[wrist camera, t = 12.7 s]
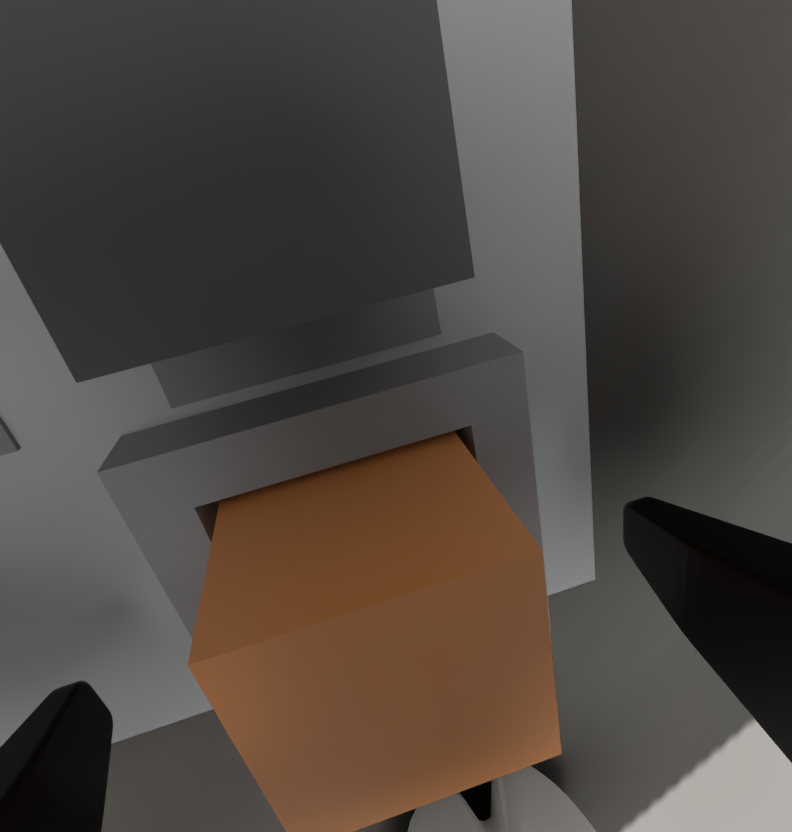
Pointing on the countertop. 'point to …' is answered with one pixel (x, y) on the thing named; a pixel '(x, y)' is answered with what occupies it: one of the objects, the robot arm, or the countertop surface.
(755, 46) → the countertop surface
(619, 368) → the countertop surface
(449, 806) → the water bottle
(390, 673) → the cap
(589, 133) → the countertop surface
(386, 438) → the panel
